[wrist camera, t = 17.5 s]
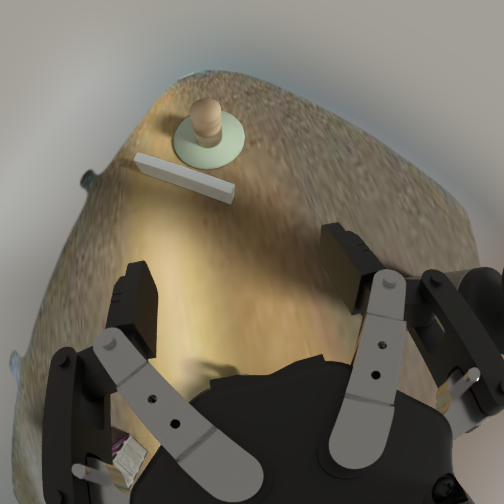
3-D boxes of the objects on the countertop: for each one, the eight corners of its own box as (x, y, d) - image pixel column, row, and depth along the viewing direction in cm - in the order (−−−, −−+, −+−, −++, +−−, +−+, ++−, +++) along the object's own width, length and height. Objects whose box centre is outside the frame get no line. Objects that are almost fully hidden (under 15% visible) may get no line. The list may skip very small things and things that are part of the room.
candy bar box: (115, 473, 34) (84, 521, 18) (96, 455, 35) (58, 499, 19) (150, 451, 36) (122, 507, 20) (129, 432, 36) (92, 482, 20)
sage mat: (236, 106, 46) (236, 104, 45) (251, 162, 44) (251, 160, 44) (171, 119, 44) (170, 117, 44) (178, 176, 43) (178, 175, 42)
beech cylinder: (220, 124, 44) (218, 96, 36) (224, 146, 44) (222, 119, 36) (194, 128, 44) (188, 101, 36) (196, 150, 43) (190, 124, 35)
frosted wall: (234, 196, 43) (234, 184, 38) (230, 204, 43) (230, 193, 38) (146, 165, 43) (137, 152, 38) (142, 173, 43) (133, 160, 38)
